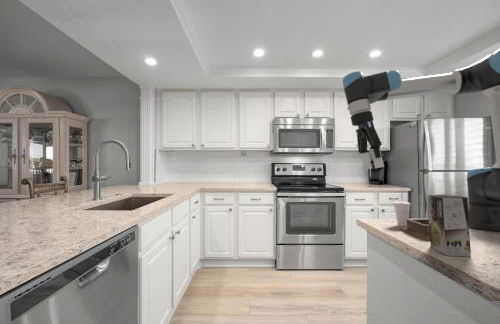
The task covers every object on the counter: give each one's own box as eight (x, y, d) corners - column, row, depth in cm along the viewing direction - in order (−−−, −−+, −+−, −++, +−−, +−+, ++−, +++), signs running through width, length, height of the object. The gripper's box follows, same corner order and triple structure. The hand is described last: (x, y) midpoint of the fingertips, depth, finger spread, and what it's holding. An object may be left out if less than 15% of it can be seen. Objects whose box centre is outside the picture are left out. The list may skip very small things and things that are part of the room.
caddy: (436, 228, 100) (435, 217, 100) (468, 239, 84) (468, 226, 84) (399, 229, 101) (399, 218, 101) (425, 240, 85) (424, 227, 85)
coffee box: (472, 257, 69) (468, 197, 69) (445, 256, 70) (442, 197, 70) (452, 246, 78) (449, 194, 78) (429, 246, 79) (426, 194, 79)
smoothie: (397, 227, 105) (396, 193, 105) (391, 223, 111) (390, 191, 112) (414, 227, 104) (412, 193, 104) (407, 224, 110) (405, 191, 111)
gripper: (344, 122, 109) (355, 171, 107) (358, 106, 84) (373, 169, 82) (362, 118, 108) (373, 167, 106) (382, 101, 83) (397, 164, 81)
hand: (373, 168), depth 94 cm, fingers open, 13 cm apart
